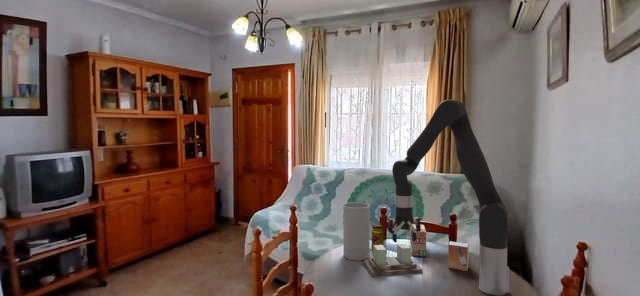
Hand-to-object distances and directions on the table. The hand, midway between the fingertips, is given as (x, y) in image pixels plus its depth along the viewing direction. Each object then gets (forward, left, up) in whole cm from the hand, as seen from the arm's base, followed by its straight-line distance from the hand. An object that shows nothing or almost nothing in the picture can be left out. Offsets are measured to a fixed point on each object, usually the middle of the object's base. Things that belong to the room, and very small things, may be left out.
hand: (404, 241), depth 148 cm
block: (+11, 0, -10) cm, 15 cm away
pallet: (+6, 0, -12) cm, 13 cm away
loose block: (0, 0, -10) cm, 10 cm away
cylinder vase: (+18, -16, -12) cm, 27 cm away
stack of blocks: (-16, -22, -12) cm, 29 cm away
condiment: (+4, -26, -12) cm, 29 cm away
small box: (-23, +4, -12) cm, 26 cm away
